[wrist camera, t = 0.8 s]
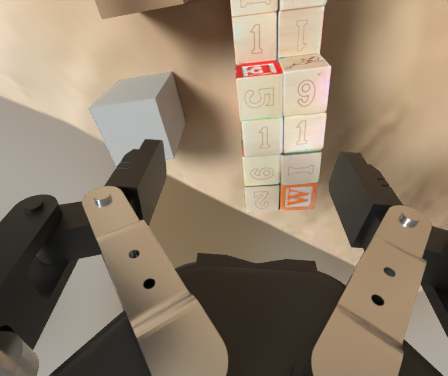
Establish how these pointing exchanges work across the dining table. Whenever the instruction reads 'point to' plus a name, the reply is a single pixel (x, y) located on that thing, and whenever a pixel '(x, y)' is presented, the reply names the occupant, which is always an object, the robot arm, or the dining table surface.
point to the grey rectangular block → (140, 114)
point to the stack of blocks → (280, 100)
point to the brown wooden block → (131, 6)
